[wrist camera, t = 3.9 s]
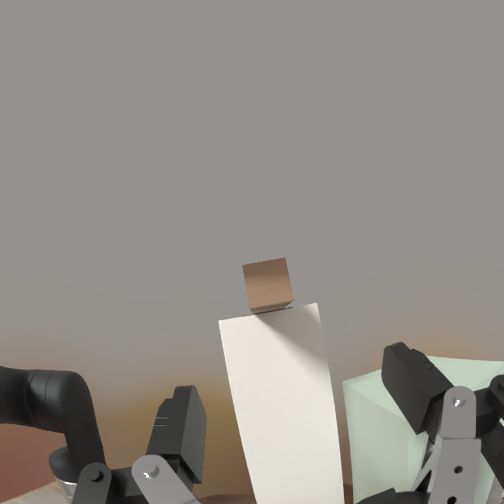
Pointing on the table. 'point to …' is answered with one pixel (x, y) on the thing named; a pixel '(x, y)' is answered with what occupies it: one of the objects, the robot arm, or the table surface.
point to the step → (402, 430)
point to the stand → (284, 405)
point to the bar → (267, 285)
